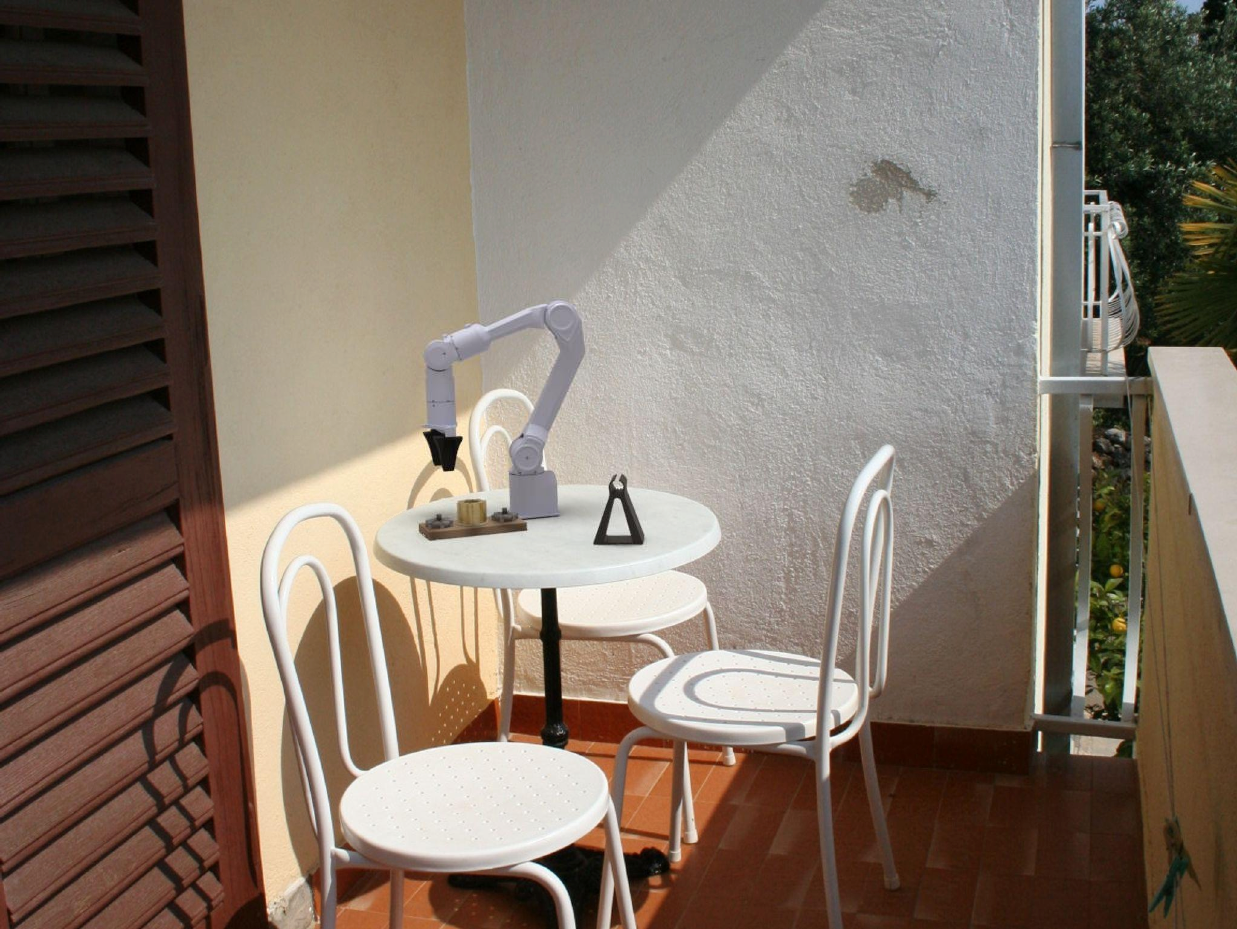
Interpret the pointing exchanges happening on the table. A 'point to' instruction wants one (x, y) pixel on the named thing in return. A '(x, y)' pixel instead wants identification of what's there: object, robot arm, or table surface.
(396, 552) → the table surface
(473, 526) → the gear board
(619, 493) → the black clip stand
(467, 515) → the brass gear
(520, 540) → the table surface
